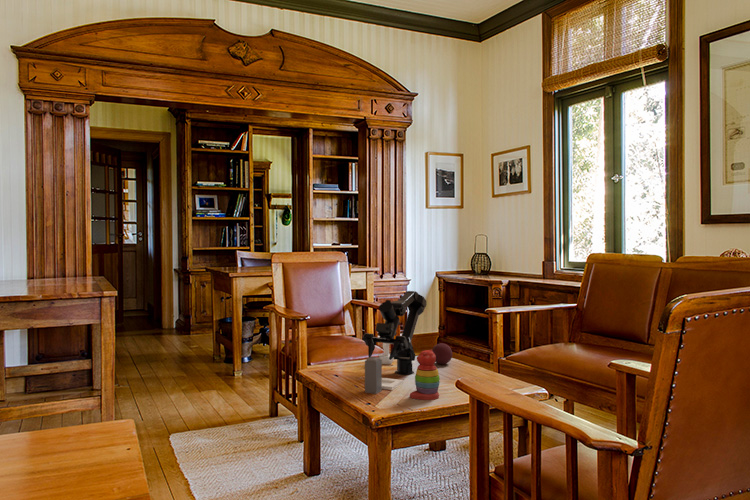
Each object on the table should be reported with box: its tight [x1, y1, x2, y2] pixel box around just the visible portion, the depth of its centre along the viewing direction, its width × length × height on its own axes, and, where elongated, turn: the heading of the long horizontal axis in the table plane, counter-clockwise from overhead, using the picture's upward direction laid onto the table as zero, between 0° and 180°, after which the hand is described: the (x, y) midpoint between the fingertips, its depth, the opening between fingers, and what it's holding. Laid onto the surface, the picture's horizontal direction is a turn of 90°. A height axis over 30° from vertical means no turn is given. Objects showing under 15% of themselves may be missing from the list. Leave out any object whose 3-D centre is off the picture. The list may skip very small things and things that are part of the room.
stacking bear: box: [409, 349, 441, 401], centre depth 209 cm, size 11×10×18 cm
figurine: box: [377, 343, 395, 365], centre depth 265 cm, size 7×9×15 cm
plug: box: [364, 356, 383, 395], centre depth 215 cm, size 5×5×13 cm
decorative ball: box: [431, 342, 453, 365], centre depth 263 cm, size 10×10×10 cm
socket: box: [382, 377, 404, 391], centre depth 226 cm, size 12×12×1 cm
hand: (379, 358), depth 221 cm, fingers open, 9 cm apart
